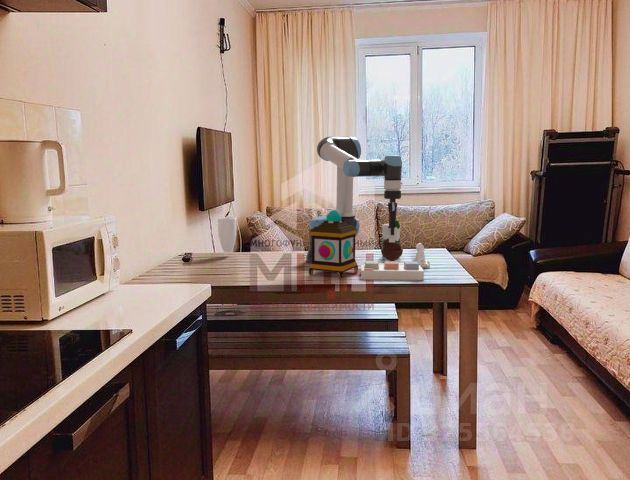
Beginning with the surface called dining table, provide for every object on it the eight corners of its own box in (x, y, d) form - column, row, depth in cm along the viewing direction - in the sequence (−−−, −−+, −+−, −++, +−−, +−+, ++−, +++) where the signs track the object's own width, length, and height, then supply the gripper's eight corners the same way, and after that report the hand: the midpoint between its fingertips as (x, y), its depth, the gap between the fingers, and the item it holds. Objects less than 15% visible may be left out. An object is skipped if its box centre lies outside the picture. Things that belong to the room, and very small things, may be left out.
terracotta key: (385, 273, 257) (385, 263, 256) (384, 270, 263) (384, 261, 262) (398, 273, 256) (398, 263, 256) (397, 270, 262) (397, 261, 262)
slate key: (405, 273, 256) (405, 263, 255) (404, 271, 262) (404, 261, 261) (418, 273, 256) (418, 263, 255) (417, 271, 262) (417, 261, 261)
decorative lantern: (343, 279, 253) (343, 212, 249) (304, 275, 262) (304, 210, 258) (361, 272, 270) (362, 209, 266) (325, 268, 280) (325, 207, 276)
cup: (241, 256, 316) (240, 217, 313) (228, 258, 307) (227, 219, 304) (227, 254, 322) (226, 216, 319) (214, 257, 313) (213, 218, 310)
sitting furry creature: (429, 268, 278) (430, 244, 276) (412, 268, 280) (412, 244, 278) (429, 265, 287) (430, 241, 285) (412, 264, 289) (413, 241, 287)
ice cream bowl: (389, 271, 271) (389, 240, 269) (376, 267, 281) (376, 237, 279) (407, 269, 276) (407, 239, 274) (393, 265, 286) (394, 236, 284)
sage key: (365, 273, 257) (365, 263, 257) (364, 270, 263) (364, 261, 263) (378, 273, 257) (378, 263, 256) (377, 270, 263) (378, 261, 262)
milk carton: (394, 258, 306) (395, 221, 303) (379, 257, 311) (380, 220, 308) (402, 256, 313) (402, 220, 310) (387, 254, 318) (388, 219, 315)
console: (361, 279, 254) (361, 269, 253) (360, 273, 267) (360, 263, 267) (423, 279, 252) (423, 269, 251) (419, 273, 266) (420, 264, 265)
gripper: (402, 190, 247) (401, 244, 251) (399, 189, 260) (399, 240, 264) (385, 190, 248) (384, 244, 251) (383, 189, 261) (382, 240, 264)
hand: (392, 242), depth 257 cm, fingers closed
